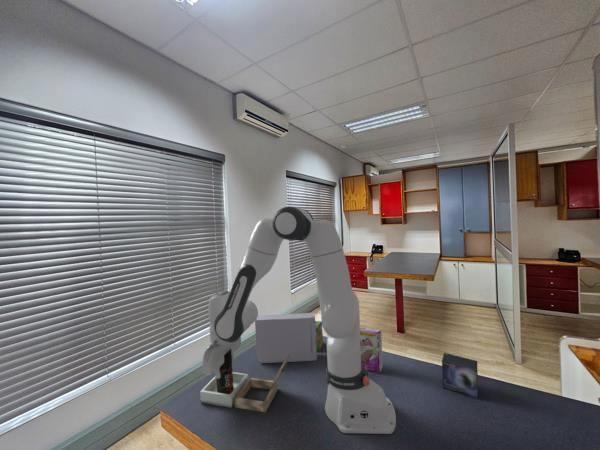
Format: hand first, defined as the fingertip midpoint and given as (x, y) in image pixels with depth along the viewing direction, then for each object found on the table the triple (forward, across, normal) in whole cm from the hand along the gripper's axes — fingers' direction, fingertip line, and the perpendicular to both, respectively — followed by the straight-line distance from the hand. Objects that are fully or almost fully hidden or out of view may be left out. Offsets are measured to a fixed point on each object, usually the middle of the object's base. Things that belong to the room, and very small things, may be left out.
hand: (224, 371), depth 93 cm
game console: (+8, +26, -16) cm, 32 cm away
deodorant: (+8, 0, 0) cm, 8 cm away
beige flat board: (0, 0, -21) cm, 21 cm away
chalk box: (+8, +39, -25) cm, 47 cm away
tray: (+8, 0, 0) cm, 8 cm away
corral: (+8, 0, -13) cm, 15 cm away
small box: (+8, +19, -84) cm, 87 cm away
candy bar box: (+8, +26, -52) cm, 59 cm away
